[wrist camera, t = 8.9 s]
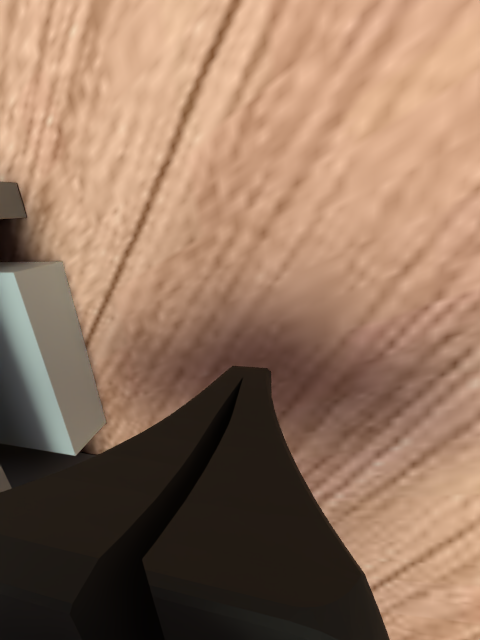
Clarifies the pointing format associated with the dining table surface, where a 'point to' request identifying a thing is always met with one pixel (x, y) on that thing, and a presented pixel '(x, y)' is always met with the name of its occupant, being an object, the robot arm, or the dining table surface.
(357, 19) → the dining table surface
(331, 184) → the dining table surface
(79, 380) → the pale blue thin plate
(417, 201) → the dining table surface
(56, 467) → the overhang shelf
